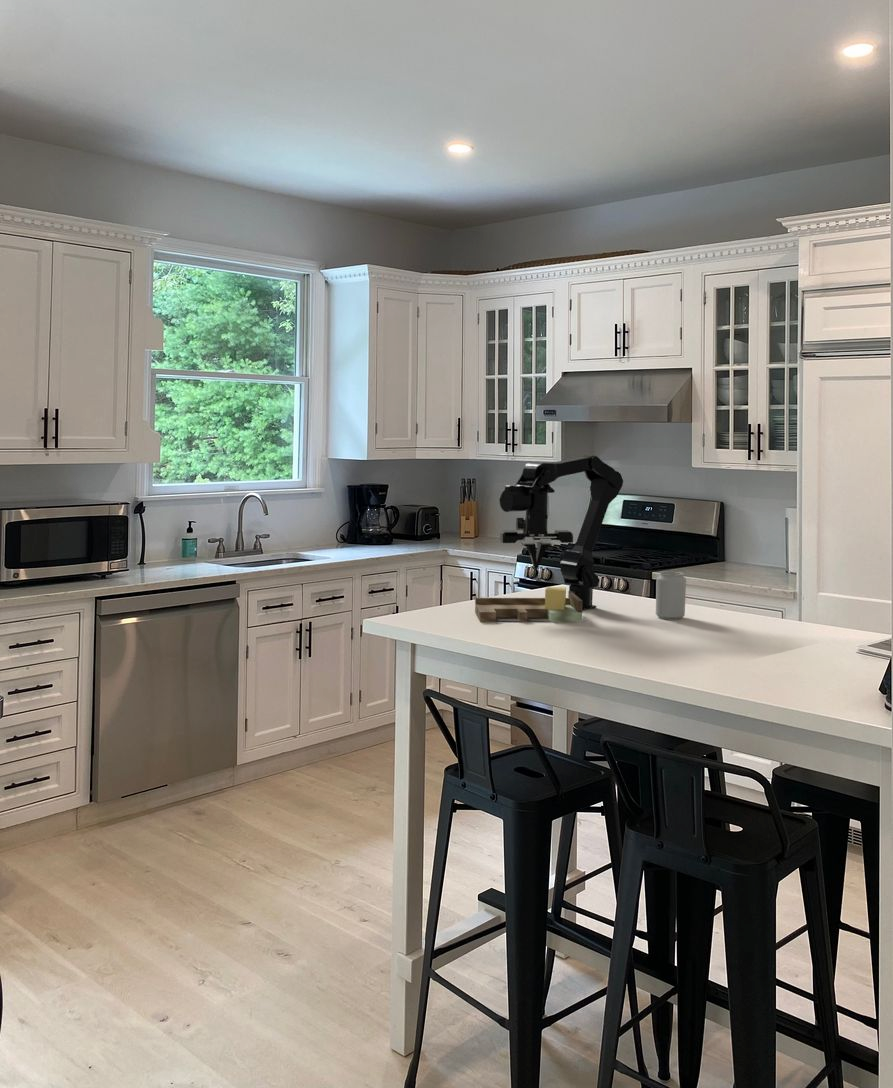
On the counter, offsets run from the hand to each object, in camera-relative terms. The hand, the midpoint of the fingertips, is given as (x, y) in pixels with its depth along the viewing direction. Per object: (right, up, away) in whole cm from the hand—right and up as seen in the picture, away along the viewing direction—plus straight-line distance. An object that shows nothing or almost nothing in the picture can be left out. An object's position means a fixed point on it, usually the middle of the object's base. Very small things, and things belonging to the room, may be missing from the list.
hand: (535, 569), depth 259 cm
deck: (-3, -12, -5) cm, 14 cm away
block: (+5, -10, -5) cm, 12 cm away
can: (+35, -13, -2) cm, 37 cm away
